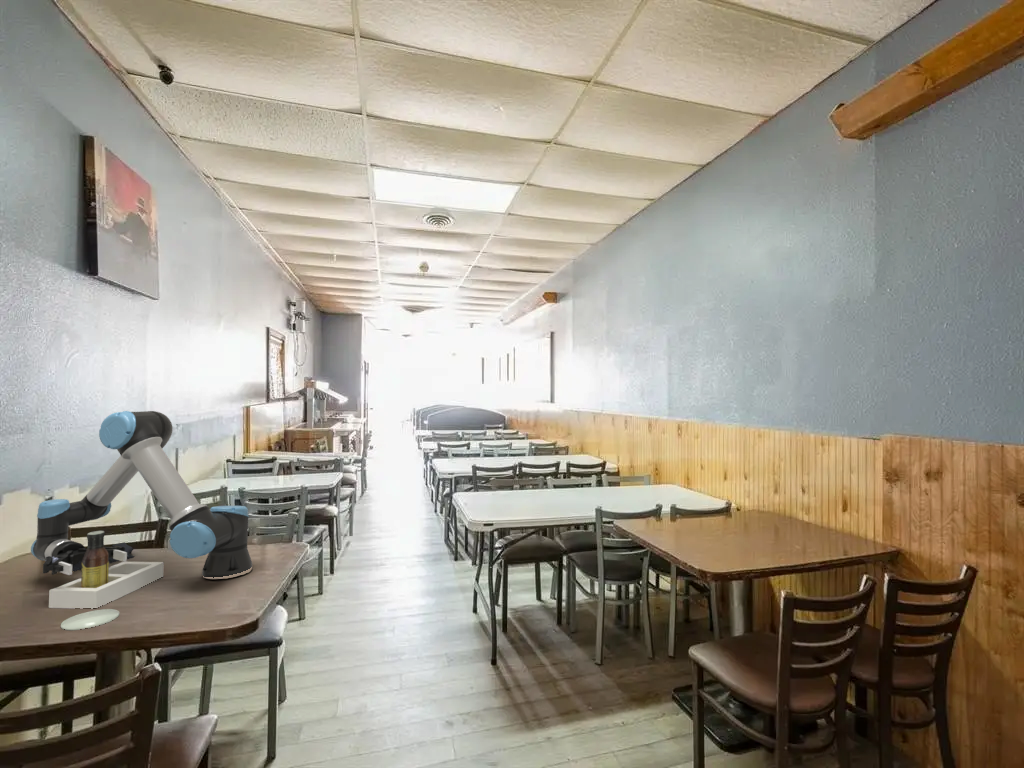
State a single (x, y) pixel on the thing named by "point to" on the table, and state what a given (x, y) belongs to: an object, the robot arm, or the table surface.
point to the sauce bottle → (95, 562)
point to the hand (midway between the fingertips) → (99, 563)
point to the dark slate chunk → (111, 560)
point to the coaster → (90, 619)
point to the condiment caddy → (106, 586)
